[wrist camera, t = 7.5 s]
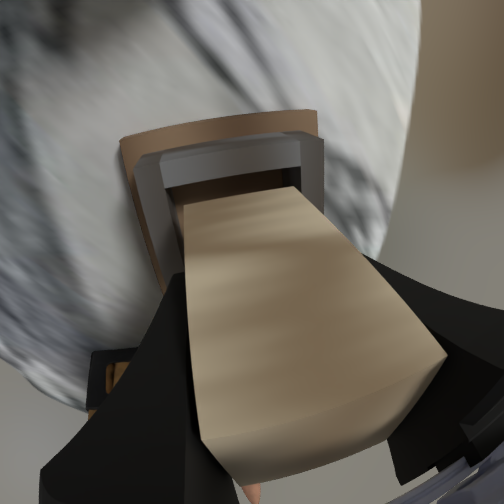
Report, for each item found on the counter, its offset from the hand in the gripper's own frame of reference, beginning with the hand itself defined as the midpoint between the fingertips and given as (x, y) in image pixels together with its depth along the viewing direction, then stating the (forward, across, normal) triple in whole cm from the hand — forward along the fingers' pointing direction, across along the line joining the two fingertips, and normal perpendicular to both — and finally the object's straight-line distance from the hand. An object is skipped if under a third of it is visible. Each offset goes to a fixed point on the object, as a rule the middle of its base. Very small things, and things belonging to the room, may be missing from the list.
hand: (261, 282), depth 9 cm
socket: (+7, 0, 0) cm, 7 cm away
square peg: (+2, 0, 0) cm, 2 cm away
